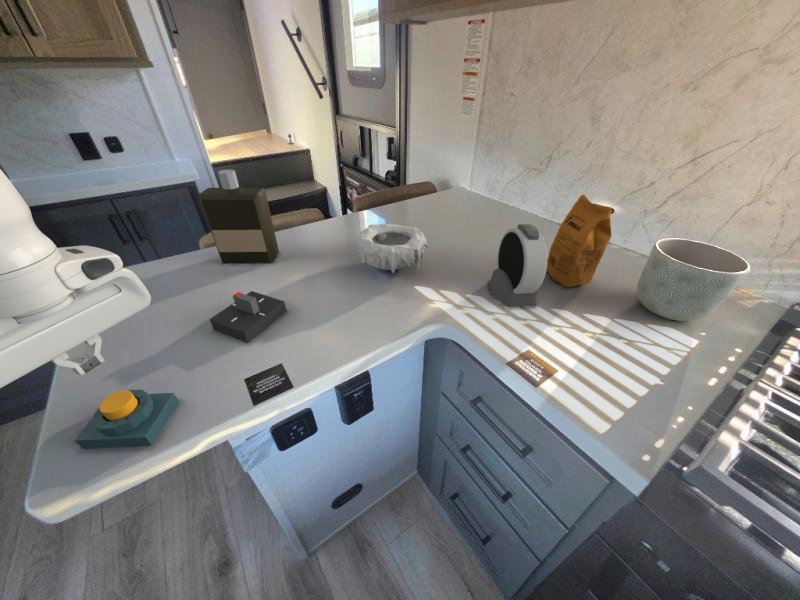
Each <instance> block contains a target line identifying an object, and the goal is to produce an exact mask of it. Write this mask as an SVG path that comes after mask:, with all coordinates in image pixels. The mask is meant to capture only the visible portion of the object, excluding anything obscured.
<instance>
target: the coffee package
mask: <svg viewBox="0 0 800 600" xmlns="http://www.w3.org/2000/svg"><path fill="white" fill-rule="evenodd" d="M613 214H615V208H614V207H610V206H607V205H602V204H598V203H592V202H591V200H589V199H588V197H587V196H586V195H585V194H581V195H580V196H579V197H578V199H577V201H576V202H575V203H574V204H573V206H572V207H571V209H570V211H569V212H568V214H566V216H565V218H564V219H563V221H562V222H561V223H560V226H559V228H558V230H557V232H556V235H555V237H554V239H553V241H552V244H551V245H550V247H549V251H548V255H547V269H546V273H548V274H549V275H550V277H551V279H552V280H553V281H554V282H556V283H557V284H560V285H561V286H563V287H564V288H571V287H577V286H582V285H588V284H591V282H592V281H593V278H594V276H595V273H596V270H597V268H598V266H599V264H600V263H601V260H602V258H603V256H604V254H605V252H606V249H607V246H608V245H609V243H610V241H611V240H612V224H611V223H612V222H611V215H613Z"/></svg>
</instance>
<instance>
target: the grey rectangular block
mask: <svg viewBox="0 0 800 600" xmlns="http://www.w3.org/2000/svg"><path fill="white" fill-rule="evenodd" d="M232 299H233V301H234V302H235V304H236V307H237V309H240V310H243V311H245V312H248V313H251V314H256V313H257V312H258V311H259V307H258V304H257V301H256V298H255V297H251V296H248V295H246V294H245V293H242V292H240V291H237V292H236V293H234V294H233V295H232Z"/></svg>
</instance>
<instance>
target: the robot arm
mask: <svg viewBox="0 0 800 600" xmlns="http://www.w3.org/2000/svg"><path fill="white" fill-rule="evenodd" d="M31 211H32V210H31V208H30V207H29V205H28V204H27V202H26V201H25V199H24V197H22V196H21V194H20V193H19V191H18V190H17V188H16V187H15V185H14V184H13V183H12V181H11V180H10V179H9V178H8V176H7V175H6V174H5V172H4V171H3V170H2V169H1V168H0V389H2V388H3V387H5V386H7V385H9V384H11V383H12V382H15V381H16V380H19V379H20V378H22V377H24V376H26V375H27V374H29V373H31V372H33V371H34V370H36V369H38V368H40V367H42V366H43V365H45V364H47V363H49V362H50V363H52V364H54V365H56V366H60V367H64V368H70V369H71V371H73V372H74V373H75V374H76V375H78V376H81V377H82V376H84V375H86V374H87V373H89V372H90V371H92V370H93V369H95V368H97V367H98V366H100V365H102V364H104V363H105V362H106V360H105V359H104V357H103V356H102V355H101V350H102V341H103V339H102V337H101V336H100V334H101V333H103V332H104V331H107V330H108V329H110V328H112V327H113V326H115V325H117V324H119V323H121V322H123V321H125V320H126V319H128V318H130V317H132V316H134V315H135V314H137V313H139V312H141V311H143V310H144V309H147V308H148V307H149V306H150V305H151V302H152V296H151V294H150V292H149V290H148V288H147V287H146V286H145V284H144V282H143V281H142V280H141V279H140V278H139V276H138V275H137V274H136V273H135V272H134V271H132V270H131V269H128V268H125V267H123V266H124V263H123V260H122V259H121V257H120V256H119V255H118V254H116V253H114V252H112V251H110V250H108V249H104V248H101V247H96V246H91V245H74V246H62V247H58V246H57V245H56V244H55V243H54V242H53V240H52V239H51V238H49V237H48V236H47V235H45V234H44V233H43V232H42V231H41V230H40V229H39V228H38V226H37V225H36V223H35V221H34V218H33V216H32V215H33V214H32V212H31ZM83 343H85V352H84V353H82V354H81V355H79V356H78V357H76V358H74V359H70V356H69V355H68V354H67V352H69V351H71V350H73V349H74V348H76V347H78V346H81V344H83Z"/></svg>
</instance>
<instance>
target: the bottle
mask: <svg viewBox="0 0 800 600" xmlns="http://www.w3.org/2000/svg"><path fill="white" fill-rule="evenodd" d="M217 174H218V178H219V181H220V185H221V187H207V188H206V189H204V190H203V191H201V192H200V193H198V199H199V201H200V204H201V207H202V210H203V213H204V216H205V218H206V222H207V224H208V227H209V230H210V233H211V235H212V238H213V241H214V244H215V247H216V250H217V253H218V255H219V259H220V261H221V263H222V264H236V263H238V264H240V263H241V264H244V263H249V264H250V263H274V262H275V260H276V259H277V257H278V254H279V253H280V249H279V246H278V240H277V237H276V231H275V227H274V223H273V219H272V215H271V210H270V205H269V202H268V197H267V193H266V190H265V188H264V187H241V186H240V185H239V181H238V177H237V174H236V170H234V169H221V170H218V171H217Z"/></svg>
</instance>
